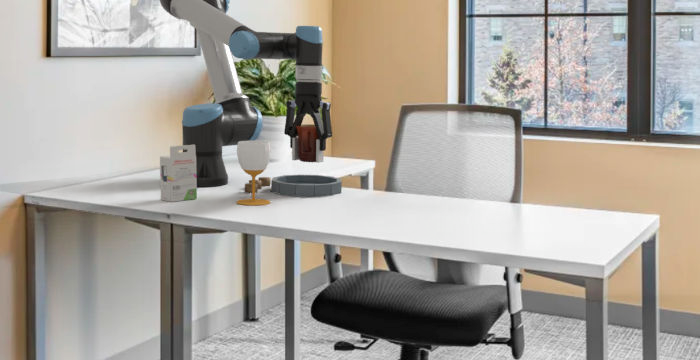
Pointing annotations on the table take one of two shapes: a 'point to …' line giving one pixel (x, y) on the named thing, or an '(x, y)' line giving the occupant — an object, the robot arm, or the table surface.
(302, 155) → the mug
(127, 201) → the table surface
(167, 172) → the ink box
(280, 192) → the tray
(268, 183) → the bead
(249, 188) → the bead
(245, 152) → the cup
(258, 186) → the bead
